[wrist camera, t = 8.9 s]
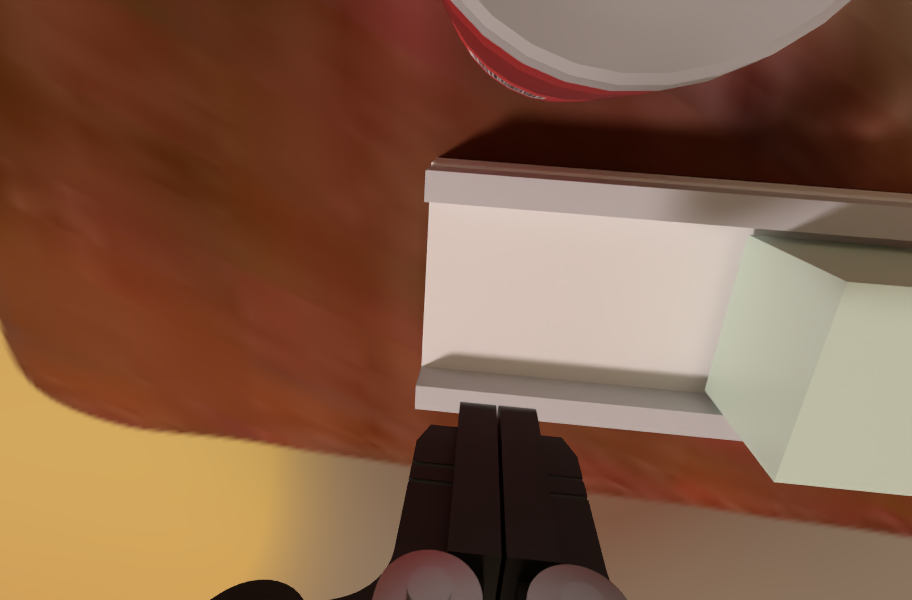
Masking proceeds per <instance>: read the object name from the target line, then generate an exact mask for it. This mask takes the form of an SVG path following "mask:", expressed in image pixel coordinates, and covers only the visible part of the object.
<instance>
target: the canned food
mask: <svg viewBox="0 0 912 600" xmlns="http://www.w3.org/2000/svg"><path fill="white" fill-rule="evenodd" d="M850 1H851V0H442V2H443V4H444V6H445V8H446V10H447V12H448V14H449V16H450V18H451V20H452V22H453V24H454V26H455V28H456V30H457V33H458V35H459V37H460V39H461V40H462V42H463V43H464V45H465V47H466V48H467V50H468V51H469V53H470V54H471V56H472V58H473V59H474V60H475V61H476V62H477V63H478V64H479V65H480V66H481V67H482V68H483V70H484V71H485V72H486V73H487V74H488V75H489V76H491V77H492V78H493V79H495V80H496V81H498V82H499V83H501V84H502V85H503V86H505V87H506V88H508V89H510V90H512V91H515V92H517V93H519V94H522V95H524V96H526V97H528V98H533V99H538V100H543V101H548V102H579V101H588V100H597V99H606V98H615V97H624V96H633V95H641V94H646V93H651V92H656V91H662V90H667V89H672V88H677V87H682V86H686V85H691V84H696V83H701V82H706V81H709V80H712V79H714V78H717V77H719V76H722V75H724V74H727V73H729V72H732V71H734V70H737V69H739V68H742V67H745V66H747V65H750V64H752V63H755V62H757V61H758V60H760V59H762V58H765V57H767V56H770V55H773V54H774V53H776V52H778V51H779V50H781V49H782V48H784V47H786V46H787V45H789V44H791V43H792V42H794V41H796V40H797V39H799V38H801V37H802V36H804V35H806V34H807V33H809V32H810V31H812V30H814V29H815V28H817V27H819V26H820V25H822V24H824V23H825V22H826V21H827V20H828V19H830V18H831V17H832V16H833V15H834V14H835V13H837V12H838V11H839V10H840V9H841V8H843V7H844V6H845V5H846V4H847V3H848V2H850Z"/></svg>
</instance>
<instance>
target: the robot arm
mask: <svg viewBox="0 0 912 600" xmlns="http://www.w3.org/2000/svg"><path fill="white" fill-rule="evenodd" d="M211 600H303V598H302V597H301V596H300V594H299V593H298V592H297V591H295V589H293V588H292V587H290V586H288V585H287V584H284V583H281V582H278V581H273V580H255V581H249V582H245V583H241V584H238V585H236V586H234V587H231V588H229V589H227V590H225V591H223V592H222V593H220V594H219V595H217V596H215V597H214V598H212V599H211ZM332 600H627V599H626V597H625V596H624V595H623V593H622V592H621V591H620V590H619V589H618V588H617V587H616V586H615V585H614V584H613V583H612V582H611V581H610V580H609V577H608V574H607V571H606V568H605V563H604V560H603V556H602V552H601V548H600V544H599V540H598V536H597V532H596V528H595V524H594V521H593V517H592V513H591V509H590V505H589V501H588V500H587V493H586V489H585V486H584V482H582V474H581V470H580V466H579V462H578V458H577V456H576V455H575V453H574V452H573V451H572V450H571V449H570V447H569V446H568V445H567V444H566V442H565V441H564V440H563V439H562V438H560V437H550V436H541V435H540V429H539V422H538V416H537V411H536V409H531V408H521V407H511V406H501V405H499V407H498V411H497V407H496V405H490V404H479V403H469V402H460V409H459V419H458V427H449V426H439V425H430V426H429V427H428V429H427V430H426V431H425V432H424V433H423V434H422V435H421V436H420V438H419V439H418V440H417V442H416V447H415V452H414V457H413V462H412V466H411V471H410V476H409V482H408V486H407V491H406V496H405V501H404V505H403V510H402V516H401V520H400V525H399V529H398V534H397V539H396V544H395V549H394V552H393V556H392V559H391V561H390V563H389V565H388V566H387V568H386V569H385V570H384V572H383V573H382V574H381V575H380V576H379V577H378V578H377V579H376V580H375V581H374V582H373V583H371V584H370V585H369V586H367V587H365V588H364V589H362V590H360V591H358V592H356V593H353V594H351V595H348V596H344V597H341V598H337V599H332Z"/></svg>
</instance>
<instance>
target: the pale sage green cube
mask: <svg viewBox="0 0 912 600" xmlns="http://www.w3.org/2000/svg"><path fill="white" fill-rule="evenodd" d="M705 392H706V393H707V394H708V396H709V397H710V398H711V400H712V401H713V402H714V404H715V405H716V406H717V408H718V409H719V410H720V412H721V413H722V414H723V415H724V417H725V418H726V419H727V421H728V422H729V423H730V425H731V426H732V427H733V429H734V430H735V431H736V433H737V434H738V435H739V437H740V438H741V439H742V440H743V442H744V443H745V444H746V446H747V447H748V448H749V450H750V451H751V452H752V454H753V455H754V456H755V458H756V459H757V460H758V462H759V463H760V464H761V465H762V467H763V468H764V469H765V471H766V472H767V473H768V475H769V476H770V477H771V479H772V480H773V481H774V482H779V483H789V484H799V485H809V486H818V487H828V488H838V489H848V490H858V491H867V492H877V493H887V494H897V495H907V496H912V248H906V247H894V246H881V245H869V244H857V243H844V242H832V241H820V240H807V239H795V238H783V237H771V236H758V235H748V238H747V241H746V245H745V248H744V252H743V255H742V259H741V262H740V266H739V270H738V273H737V277H736V280H735V284H734V287H733V291H732V294H731V298H730V302H729V305H728V309H727V312H726V316H725V319H724V323H723V326H722V330H721V334H720V337H719V341H718V344H717V348H716V351H715V355H714V358H713V362H712V366H711V369H710V373H709V376H708V380H707V383H706V387H705Z"/></svg>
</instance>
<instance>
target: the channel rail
mask: <svg viewBox="0 0 912 600" xmlns="http://www.w3.org/2000/svg"><path fill="white" fill-rule="evenodd" d="M424 202H429V223H428V243H427V264H426V284H425V305H424V325H423V346H422V366H421V370H420V373H419V377H418V380H417V384H416V396H415V409H422V410H432V411H442V412H453V413H459V409H460V402H469V403H479V404H490V405H496V407H497V411H498V407H499V405H501V406H511V407H521V408H531V409H536V411H537V416H538V421H544V422H554V423H564V424H574V425H584V426H594V427H604V428H614V429H625V430H635V431H645V432H655V433H665V434H675V435H685V436H695V437H705V438H716V439H726V440H736V441H743V440H742V439H741V438H740V437H739V435H738V434H737V433H736V431H735V430H734V429H733V427H732V426H731V425H730V423H729V422H728V421H727V419H726V418H725V417H724V415H723V414H722V413H721V412H720V410H719V409H718V408H717V406H716V405H715V404H714V402H713V401H712V400H711V398H710V397H709V396H708V394H707V393H706V392H705V387H706V383H707V380H708V376H709V373H710V369H711V366H712V362H713V358H714V355H715V351H716V348H717V344H718V341H719V337H720V334H721V330H722V326H723V323H724V319H725V316H726V312H727V309H728V305H729V302H730V298H731V294H732V291H733V287H734V284H735V280H736V277H737V273H738V270H739V266H740V262H741V259H742V255H743V252H744V248H745V245H746V241H747V238H748V235H758V236H771V237H783V238H795V239H807V240H820V241H832V242H844V243H857V244H869V245H881V246H894V247H906V248H912V194H906V193H893V192H880V191H867V190H854V189H841V188H828V187H815V186H802V185H789V184H776V183H763V182H750V181H737V180H724V179H711V178H698V177H685V176H672V175H659V174H646V173H633V172H620V171H607V170H594V169H581V168H567V167H554V166H541V165H528V164H515V163H502V162H489V161H476V160H463V159H450V158H436V159H435V160H434V161H433V162H431V166H430V167H429V168H427V169H426V174H425V197H424Z"/></svg>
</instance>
